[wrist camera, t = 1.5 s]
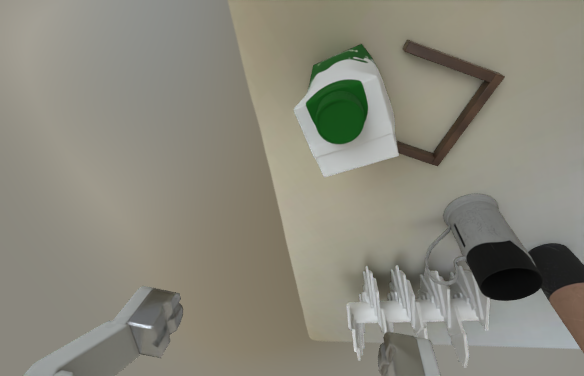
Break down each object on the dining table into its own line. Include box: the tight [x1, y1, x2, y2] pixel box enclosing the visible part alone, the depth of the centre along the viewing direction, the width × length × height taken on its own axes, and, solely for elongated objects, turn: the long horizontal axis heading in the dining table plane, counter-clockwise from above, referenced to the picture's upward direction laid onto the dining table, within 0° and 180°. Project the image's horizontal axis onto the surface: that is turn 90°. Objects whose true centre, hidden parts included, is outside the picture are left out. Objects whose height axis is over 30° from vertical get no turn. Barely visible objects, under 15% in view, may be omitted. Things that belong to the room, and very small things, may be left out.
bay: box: [396, 40, 505, 166], centre depth 40 cm, size 14×13×2 cm
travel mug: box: [529, 244, 584, 353], centre depth 46 cm, size 8×8×20 cm
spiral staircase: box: [346, 266, 490, 367], centre depth 56 cm, size 18×18×25 cm
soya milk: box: [294, 44, 399, 177], centre depth 32 cm, size 9×9×20 cm
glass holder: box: [425, 194, 544, 301], centre depth 45 cm, size 9×14×15 cm, turn 113°
